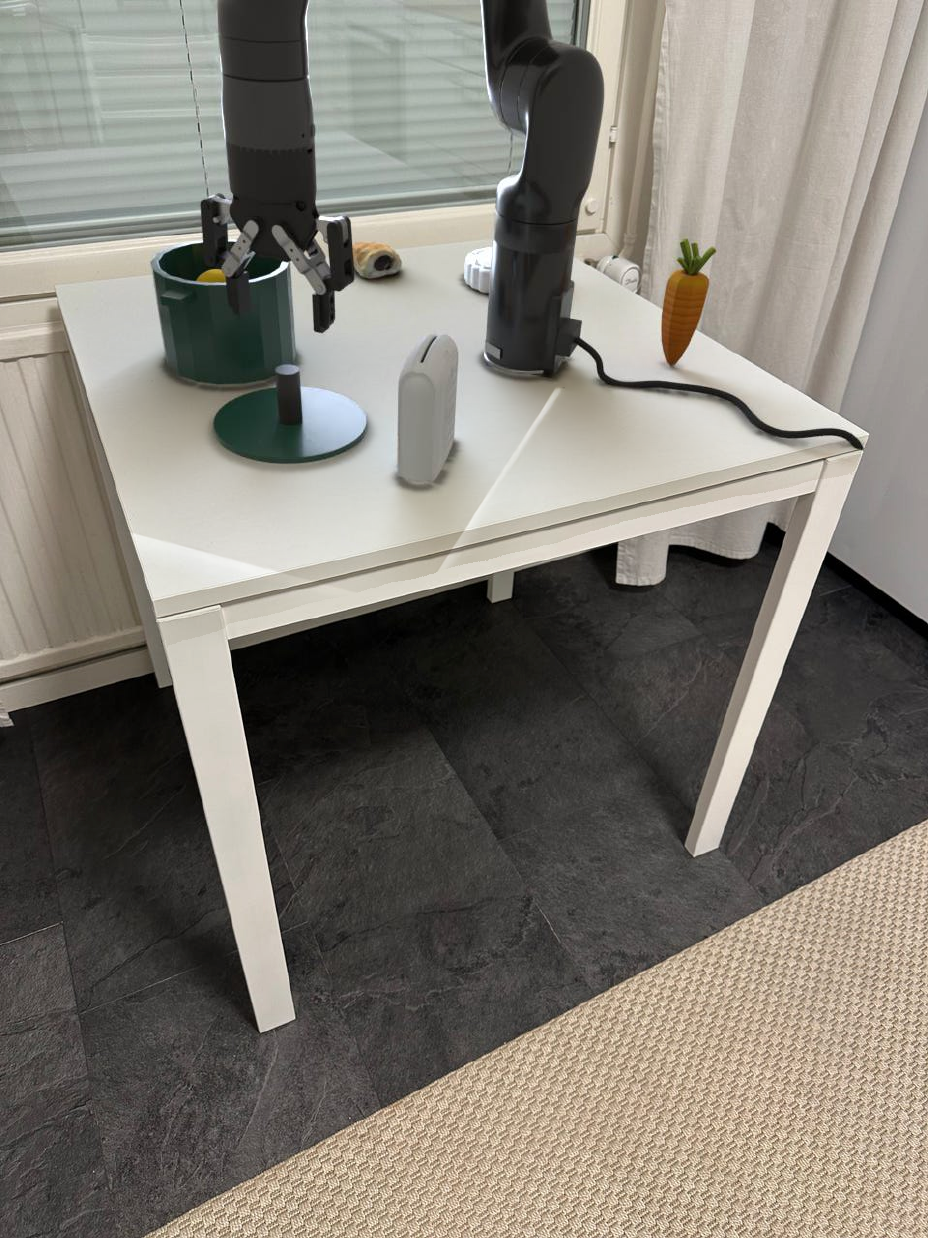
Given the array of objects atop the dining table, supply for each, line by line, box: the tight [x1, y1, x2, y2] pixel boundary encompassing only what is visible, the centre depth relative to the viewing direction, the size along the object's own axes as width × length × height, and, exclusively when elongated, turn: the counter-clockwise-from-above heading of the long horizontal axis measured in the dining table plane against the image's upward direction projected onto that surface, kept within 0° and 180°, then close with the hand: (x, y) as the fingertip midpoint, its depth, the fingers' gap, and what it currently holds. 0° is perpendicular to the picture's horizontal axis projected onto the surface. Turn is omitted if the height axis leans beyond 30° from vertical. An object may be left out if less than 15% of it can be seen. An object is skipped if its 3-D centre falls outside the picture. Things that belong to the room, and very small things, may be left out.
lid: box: [212, 364, 368, 464], centre depth 93 cm, size 16×16×7 cm
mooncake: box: [463, 246, 492, 294], centre depth 131 cm, size 12×12×4 cm
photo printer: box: [396, 332, 459, 483], centre depth 88 cm, size 10×4×12 cm, turn 168°
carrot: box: [660, 238, 717, 367], centre depth 108 cm, size 5×5×15 cm
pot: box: [149, 238, 297, 386], centre depth 104 cm, size 15×20×12 cm
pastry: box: [352, 241, 403, 280], centre depth 133 cm, size 9×7×4 cm
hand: (282, 321), depth 88 cm, fingers open, 8 cm apart
